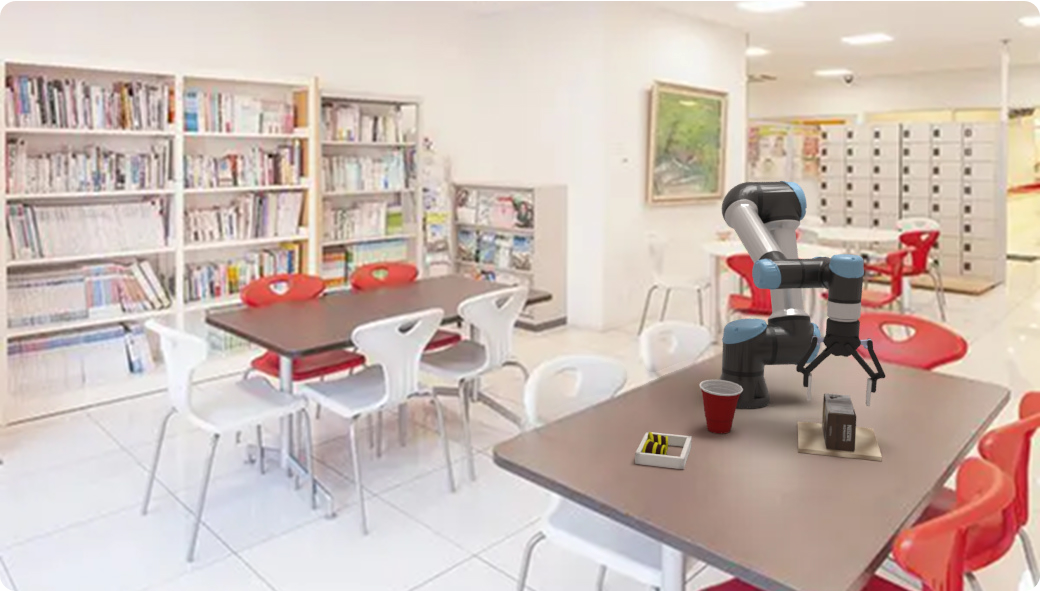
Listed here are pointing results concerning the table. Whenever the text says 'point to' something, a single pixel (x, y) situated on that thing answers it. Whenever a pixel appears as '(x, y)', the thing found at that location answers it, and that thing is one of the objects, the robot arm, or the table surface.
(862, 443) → the birch board
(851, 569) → the table surface
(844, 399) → the coffee box
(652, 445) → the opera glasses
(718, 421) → the plastic cup
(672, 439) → the white tray rim
